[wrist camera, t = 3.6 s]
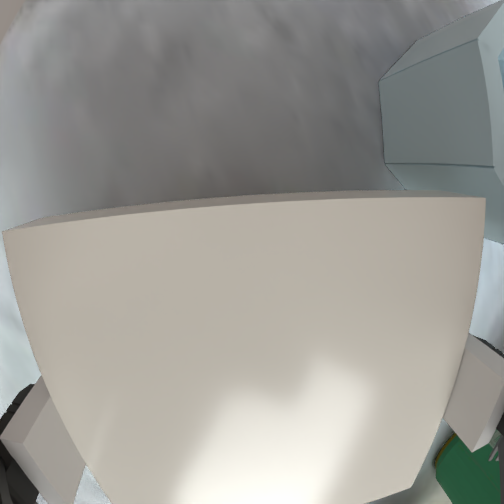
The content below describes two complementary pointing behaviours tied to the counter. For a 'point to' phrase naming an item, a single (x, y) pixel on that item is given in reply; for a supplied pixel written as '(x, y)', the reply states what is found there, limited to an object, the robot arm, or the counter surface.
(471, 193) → the bowl
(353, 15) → the counter surface
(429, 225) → the ceramic tile
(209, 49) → the counter surface
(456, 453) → the beverage can
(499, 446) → the robot arm
